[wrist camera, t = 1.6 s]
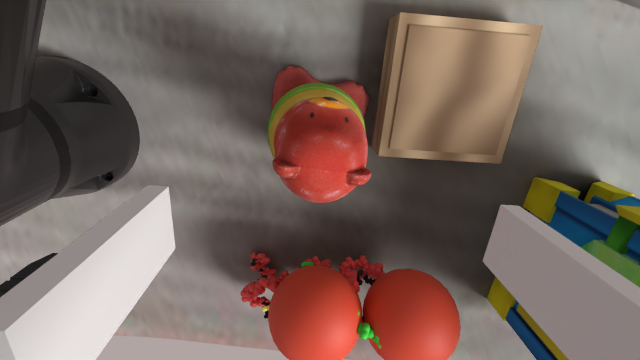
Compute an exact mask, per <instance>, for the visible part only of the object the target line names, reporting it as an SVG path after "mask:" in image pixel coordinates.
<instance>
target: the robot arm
mask: <svg viewBox="0 0 640 360" xmlns="http://www.w3.org/2000/svg"><path fill="white" fill-rule="evenodd" d="M45 4H46V0H0V226H2V225H3V224H5V223H7V222H9V221H11V220H12V219H14V218H16V217H18V216H20V215H22V214H23V213H25V212H27V211H29V210H31V209H33V208H35V207H36V206H38V205H40V204H42V203H44V202H46V201H47V200H50V199H54V198H61V197H68V196H75V195H82V194H88V193H92V192H96V191H99V190H101V189H104V188H106V187H108V186H109V185H111V184H113V183H114V182H116V181H118V180H119V179H121V178H122V177H123V176H124V175H125V174H126V173H127V172H128V171H129V170H130V169H131V167H132V166H133V164H134V162H135V160H136V158H137V155H138V151H139V143H140V136H139V129H138V124H137V121H136V118H135V115H134V113H133V111H132V109H131V107H130V105H129V103H128V102H127V100H126V99H125V97H124V96H123V94H122V93H121V92H120V91H119V90H118V88H117V87H116V86H115V85H114V84H113V83H112V82H111V81H109V80H108V79H107V78H106V77H105V76H103V75H102V74H101V73H99V72H98V71H96V70H94V69H93V68H91V67H89V66H87V65H85V64H83V63H80V62H78V61H75V60H72V59H68V58H63V57H55V56H37V50H38V43H39V37H40V31H41V26H42V20H43V15H44V10H45ZM174 250H175V240H174V232H173V223H172V214H171V205H170V196H169V187H167V186H149V185H148V186H146V187H145V188H144V189H142V190H141V191H140V192H138V193H137V194H136V195H134V196H133V197H132V198H130V199H129V200H128V201H126V202H125V203H124V204H123V205H121V206H120V207H119V208H117V209H116V210H115V211H113V212H112V213H111V214H109V215H108V216H107V217H105V218H104V219H103V220H102V221H100V222H99V223H98V224H96V225H95V226H94V227H92V228H91V229H90V230H88V231H87V232H86V233H84V234H83V235H82V236H80V237H79V238H78V239H77V240H75V241H74V242H73V243H71V244H70V245H69V246H67V247H66V248H65V249H63V250H62V251H61V252H59V253H52V254H50V255H48V256H46V257H43V258H41V259H39V260H37V261H35V262H33V263H31V264H29V265H28V266H26V267H25V268H23V269H22V270H21V271H19V272H18V273H16V274H15V275H14V276H12V277H11V278H10V280H9V281H5V282H4V283H3V284H1V285H0V360H96V358H97V357H98V355H99V354H100V353H101V351H102V350H103V348H104V347H105V345H106V344H107V343H108V341H109V340H110V339H111V337H112V336H113V335H114V333H115V332H116V330H117V329H118V328H119V326H120V325H121V323H122V322H123V321H124V319H125V318H126V316H127V315H128V314H129V312H130V311H131V309H132V308H133V307H134V305H135V304H136V303H137V301H138V300H139V298H140V297H141V296H142V294H143V293H144V291H145V290H146V289H147V287H148V286H149V284H150V283H151V282H152V280H153V279H154V277H155V276H156V275H157V273H158V272H159V270H160V269H161V268H162V266H163V265H164V264H165V262H166V261H167V259H168V258H169V257H170V255H171V254H172V252H173V251H174ZM483 263H484V264H485V265H486V266H487V267H488V268H489V269H490V270H491V272H492V273H493V274H494V275H495V276H496V277H497V278H498V280H499V281H500V282H501V283H502V284H503V285H504V286H505V288H506V289H507V290H508V291H509V292H510V293H511V294H512V296H513V297H514V298H515V299H516V300H517V301H518V302H519V304H520V305H521V306H522V307H523V308H524V309H525V310H526V311H527V313H528V314H529V315H530V316H531V317H532V318H533V319H534V321H535V322H536V323H537V324H538V325H539V326H540V327H541V329H542V330H543V331H544V332H545V333H546V334H547V335H548V337H549V338H550V339H551V340H552V341H553V342H554V343H555V344H556V346H557V347H558V348H559V349H560V350H561V351H562V352H563V354H564V355H565V356H566V357H567V358H568V359H569V360H640V287H638V286H637V285H635V284H634V283H632V282H631V281H629V280H628V279H626V278H625V277H623V276H622V275H620V274H619V273H617V272H616V271H614V270H613V269H612V268H610V267H609V266H607V265H606V264H604V263H603V262H601V261H600V260H598V259H597V258H595V257H594V256H592V255H591V254H589V253H588V252H586V251H585V250H583V249H582V248H581V247H579V246H578V245H576V244H575V243H573V242H572V241H570V240H569V239H567V238H566V237H564V236H563V235H561V234H560V233H558V232H557V231H555V230H554V229H552V228H551V227H550V226H548V225H547V224H545V223H544V222H542V221H541V220H539V219H538V218H536V217H535V216H533V215H532V214H530V213H529V212H527V211H526V210H524V209H523V208H521V207H520V206H516V205H500V208H499V211H498V215H497V218H496V221H495V224H494V227H493V230H492V233H491V236H490V240H489V243H488V246H487V249H486V252H485V255H484V258H483Z"/></svg>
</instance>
